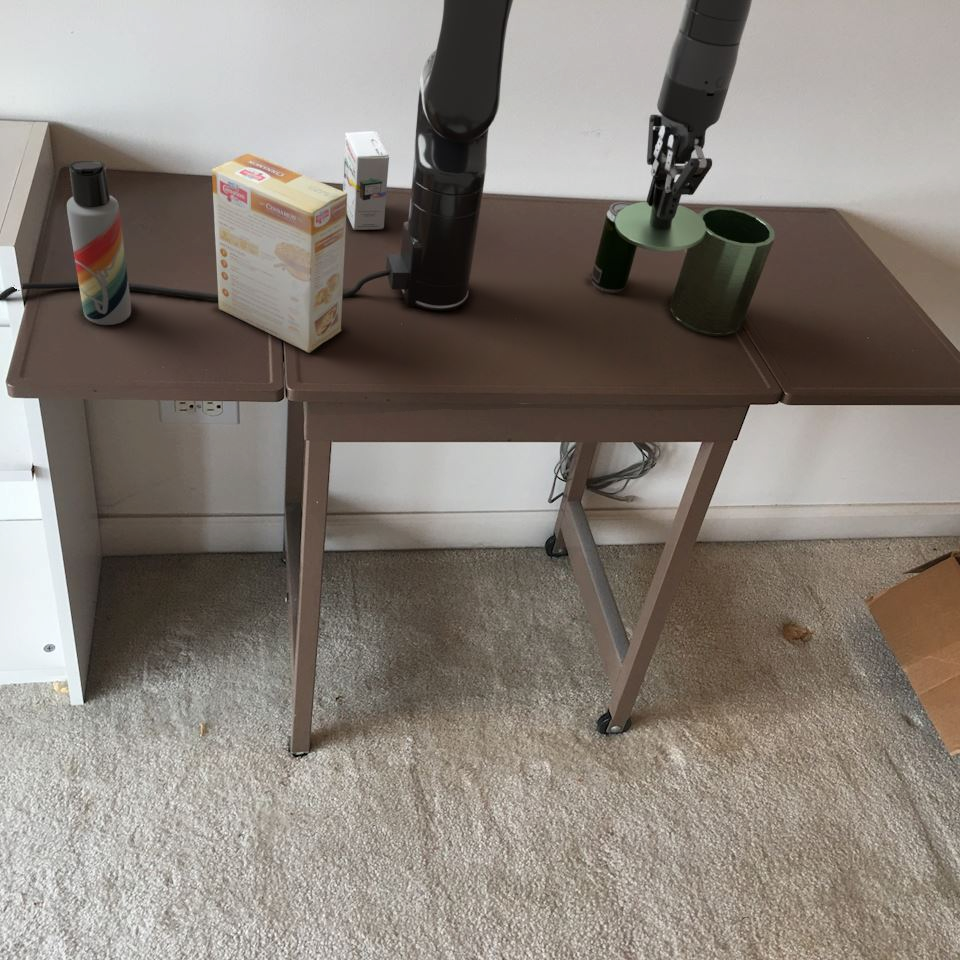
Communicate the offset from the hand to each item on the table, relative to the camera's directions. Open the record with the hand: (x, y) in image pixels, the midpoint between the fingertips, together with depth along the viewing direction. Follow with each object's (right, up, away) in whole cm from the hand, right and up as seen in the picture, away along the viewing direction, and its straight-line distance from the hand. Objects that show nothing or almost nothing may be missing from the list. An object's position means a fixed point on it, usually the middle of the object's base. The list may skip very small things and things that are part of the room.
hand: (659, 211), depth 124 cm
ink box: (-41, +6, +26) cm, 49 cm away
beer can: (-4, -5, +21) cm, 22 cm away
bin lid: (0, -2, +2) cm, 3 cm away
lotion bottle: (-70, -13, -1) cm, 71 cm away
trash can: (+10, -10, +18) cm, 23 cm away
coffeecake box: (-49, -14, +3) cm, 51 cm away
